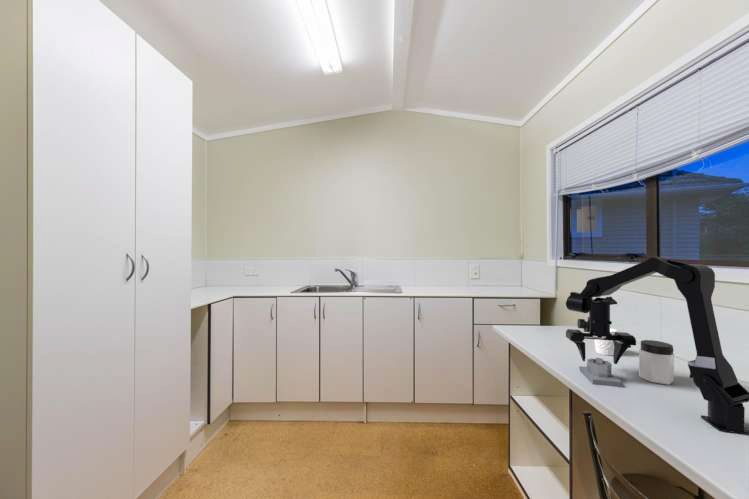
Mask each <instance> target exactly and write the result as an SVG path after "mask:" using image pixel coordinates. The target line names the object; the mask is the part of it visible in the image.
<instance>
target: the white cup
mask: <svg viewBox="0 0 749 499" xmlns="http://www.w3.org/2000/svg"><path fill="white" fill-rule="evenodd" d="M615 332H618V330H617V329H615V328H611V327H610V333H611V334H612V335H614V333H615ZM593 337H597V336H593ZM593 341H594V352H595V353H596V354H599V355H602V356H609V357H610V356H611V357H614V343H613V340H597V339H593Z"/></svg>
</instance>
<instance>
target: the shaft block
mask: <svg viewBox="0 0 749 499" xmlns="http://www.w3.org/2000/svg"><path fill="white" fill-rule="evenodd" d="M595 359H596V363H600V364H603V360H604V359H603V358H601V357H596V358H595ZM578 368H579V372H580V373H581V374H582V375H583V376H584V377H585V378H586V379H587V381H589V382H590V383H591V385H597V386H606V387H607V386H608V387H609V386H610V387H618V388H622V387H623V386H622V384H623V382H622V381H621V380H620V379H619V378H617V376H615V375H614V374H612V373H611V377H608V378H605V377H597V376H594V375H591V374H589V373H588V372H587V366H583V365H582V366H581V365H580V366H579V367H578Z"/></svg>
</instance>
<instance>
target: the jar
mask: <svg viewBox="0 0 749 499" xmlns="http://www.w3.org/2000/svg"><path fill="white" fill-rule="evenodd" d="M638 351H639V356H638V357H639V362H638V363H639V367H638V368H639V369H638V370H639V372H638V374H639V375H638V376H639V377H640V378H641V379H643V380H646V381H647V382H650V383H655V384H662V385H668V386H669V385H671V384H673V383H674V382H675V353H674V345H672V344H671V343H667V342H664V341H658V340H652V339H649V340H648V339H645V340H641V341H640V348H639V350H638Z"/></svg>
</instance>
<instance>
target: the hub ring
mask: <svg viewBox="0 0 749 499" xmlns="http://www.w3.org/2000/svg"><path fill="white" fill-rule="evenodd" d="M612 365H613V364H612V363H611V362H610V361H608V360H605V359H603V364H600V363H596V358H588V359H587V360H586V367H587V372H588V373H589V374H591V375H594V376H597V377H605V378H608V377H611V374H612Z"/></svg>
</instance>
